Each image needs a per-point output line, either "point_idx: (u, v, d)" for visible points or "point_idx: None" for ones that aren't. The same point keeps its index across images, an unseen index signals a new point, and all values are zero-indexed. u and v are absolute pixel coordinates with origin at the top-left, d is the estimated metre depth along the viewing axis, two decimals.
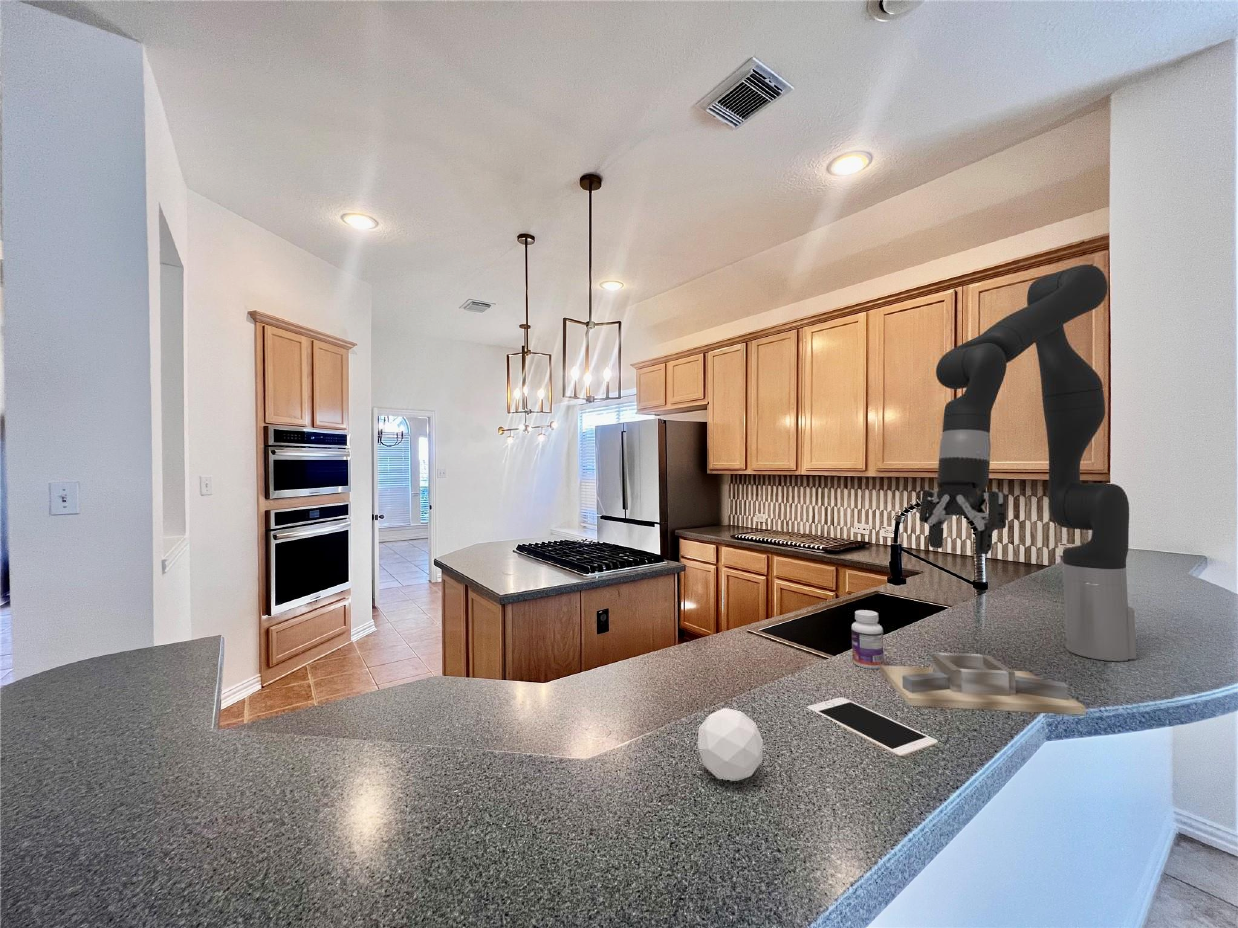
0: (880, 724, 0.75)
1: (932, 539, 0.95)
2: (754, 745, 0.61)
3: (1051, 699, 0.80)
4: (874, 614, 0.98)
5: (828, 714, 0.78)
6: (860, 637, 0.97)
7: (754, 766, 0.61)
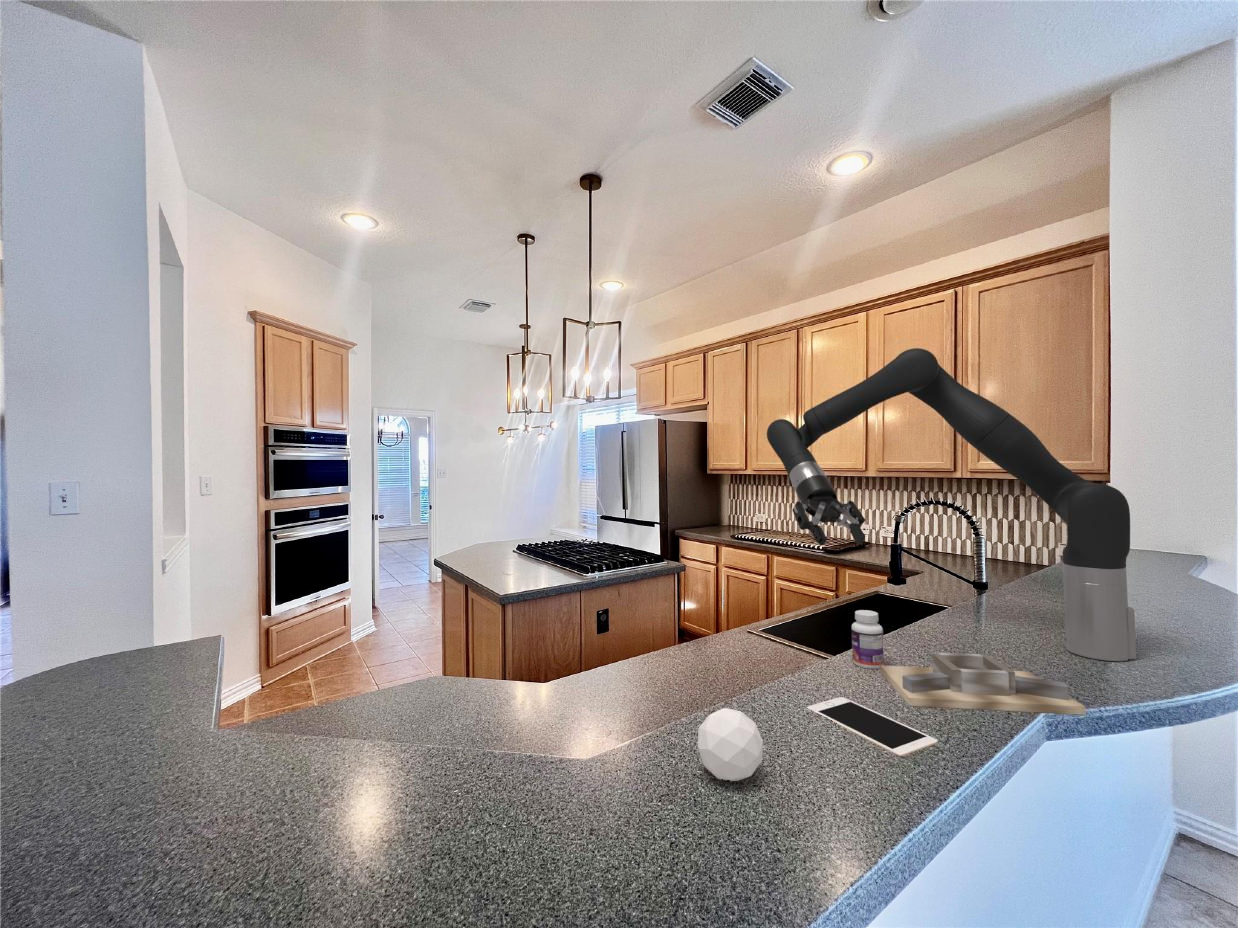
0: (880, 724, 0.75)
1: (855, 539, 1.10)
2: (754, 745, 0.61)
3: (1051, 699, 0.80)
4: (874, 614, 0.98)
5: (828, 714, 0.78)
6: (860, 637, 0.97)
7: (754, 766, 0.61)
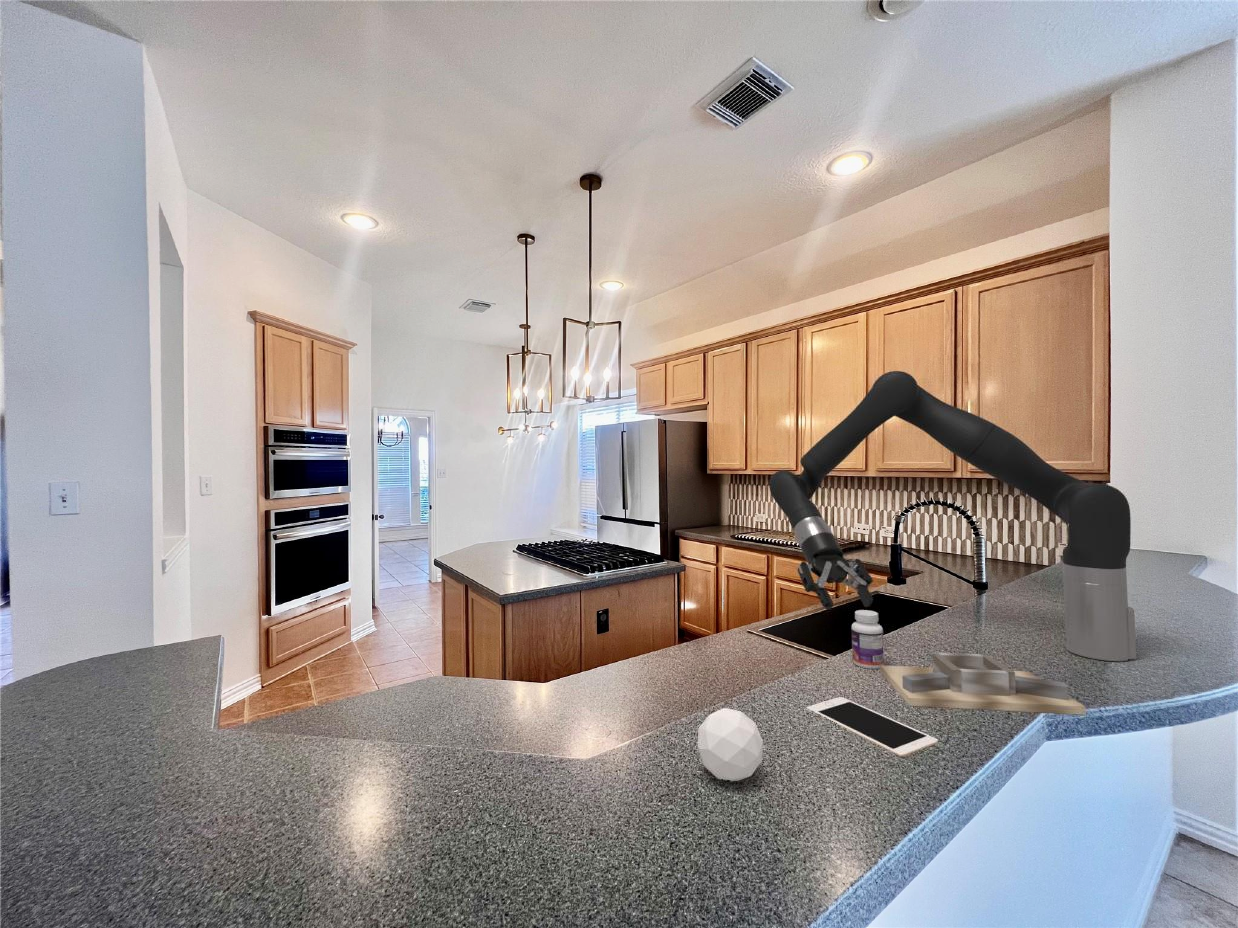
0: (880, 724, 0.75)
1: None
2: (754, 745, 0.61)
3: (1051, 699, 0.80)
4: (874, 614, 0.98)
5: (828, 714, 0.78)
6: (860, 637, 0.97)
7: (754, 766, 0.61)
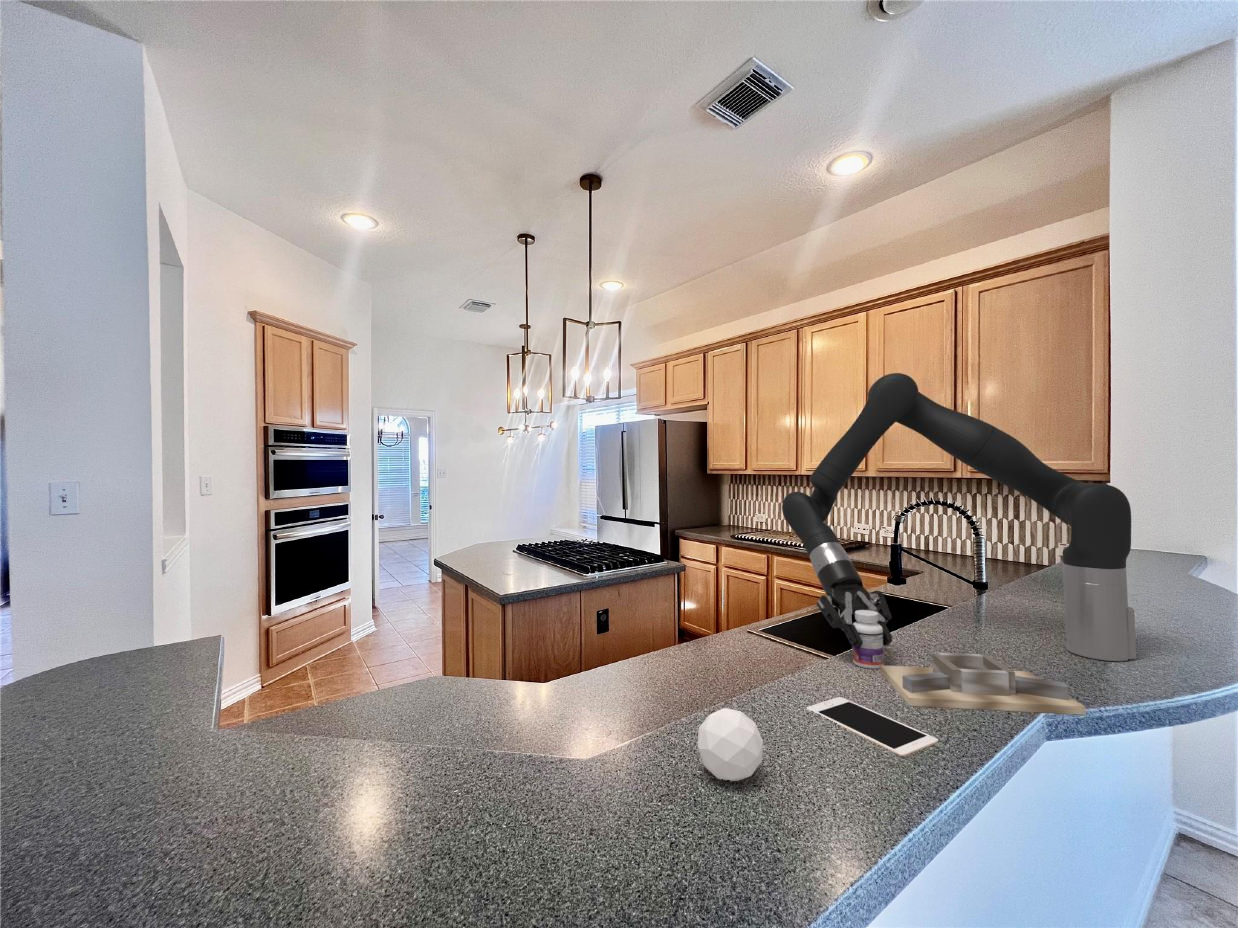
0: (880, 724, 0.75)
1: None
2: (754, 745, 0.61)
3: (1051, 699, 0.80)
4: (874, 614, 0.98)
5: (828, 715, 0.78)
6: (860, 636, 0.97)
7: (754, 766, 0.61)
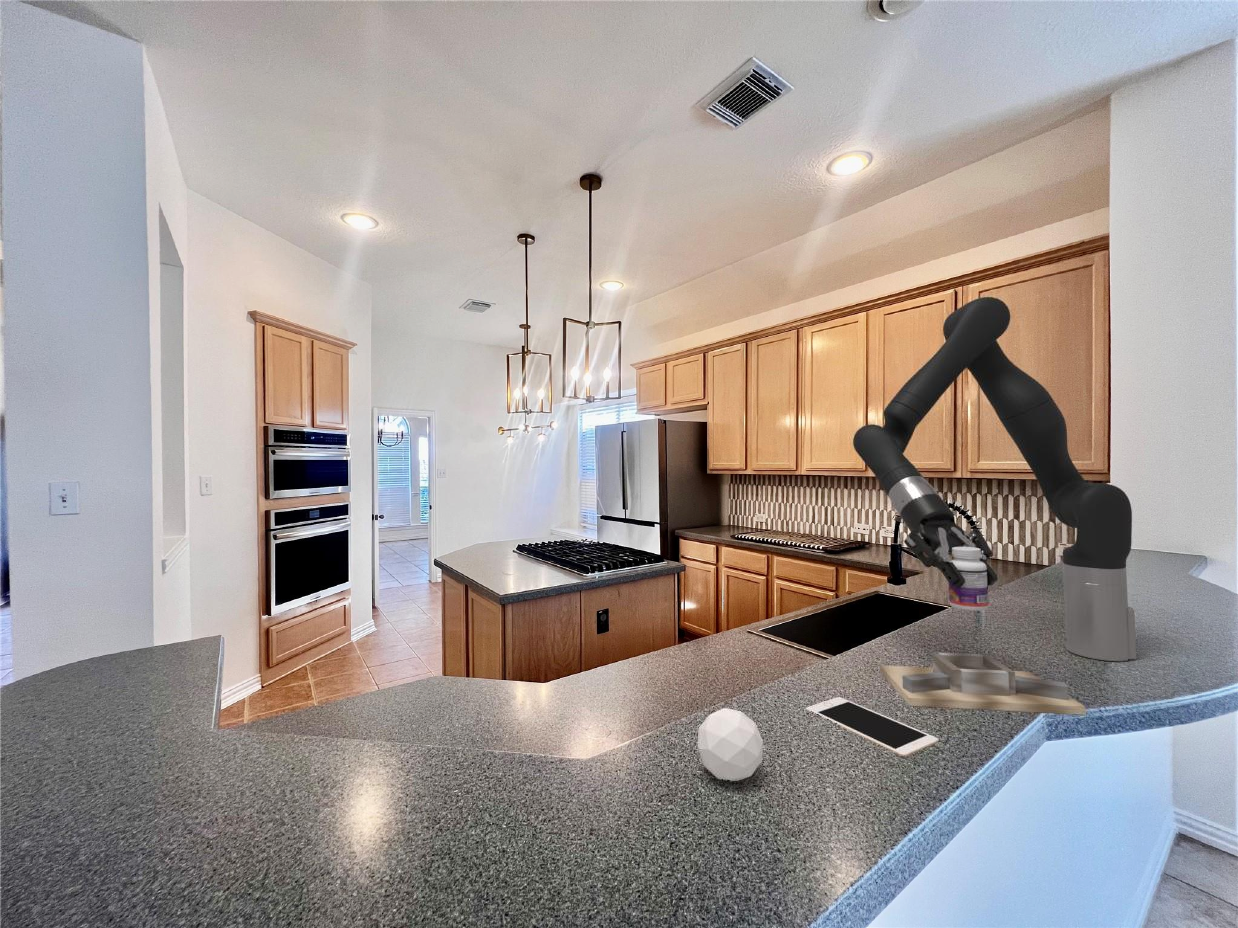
0: (880, 723, 0.75)
1: None
2: (754, 745, 0.61)
3: (1051, 699, 0.80)
4: (976, 549, 0.85)
5: (828, 715, 0.78)
6: None
7: (754, 766, 0.61)
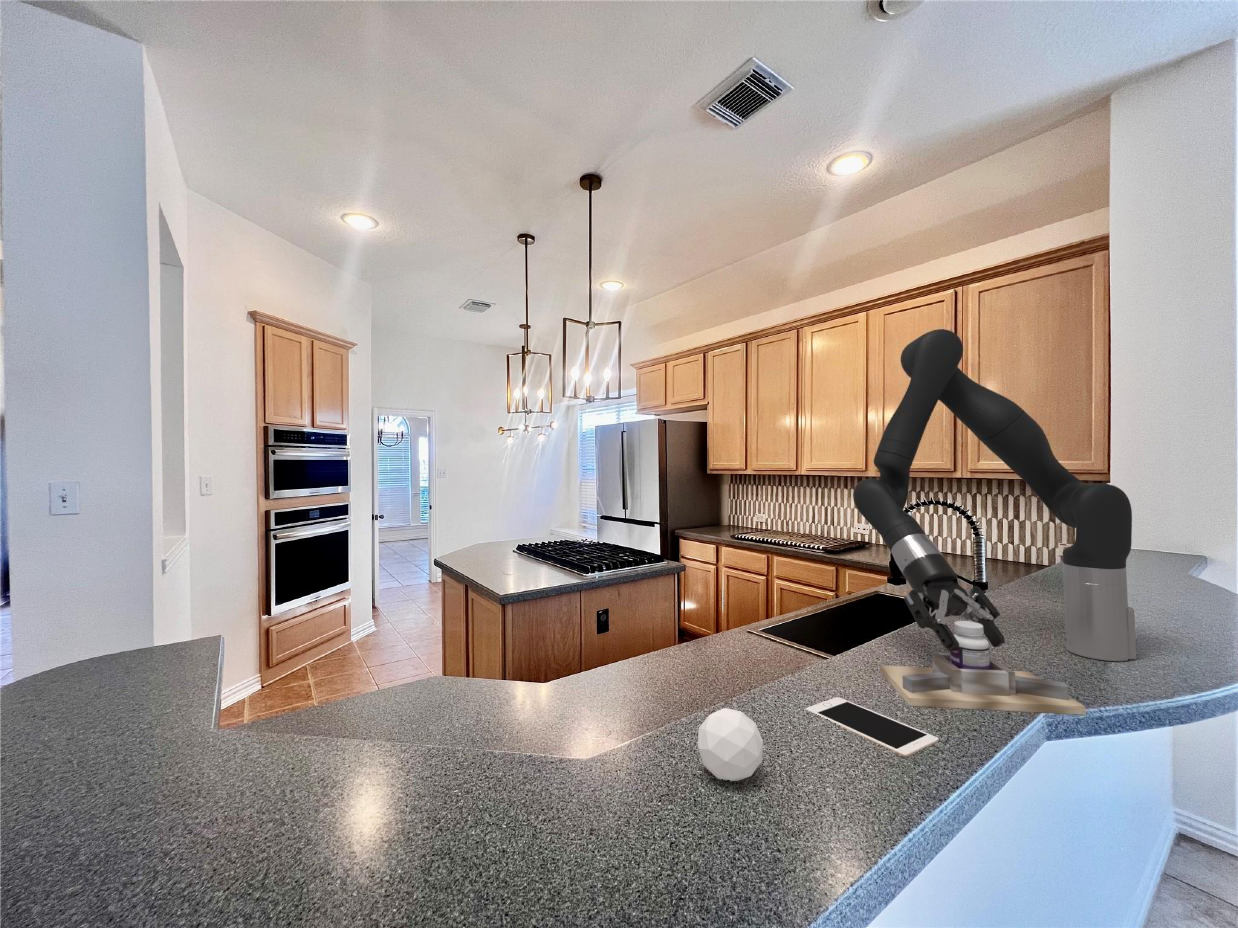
0: (880, 723, 0.75)
1: None
2: (754, 745, 0.61)
3: (1051, 699, 0.80)
4: (979, 626, 0.85)
5: (828, 715, 0.78)
6: (964, 652, 0.84)
7: (754, 766, 0.61)
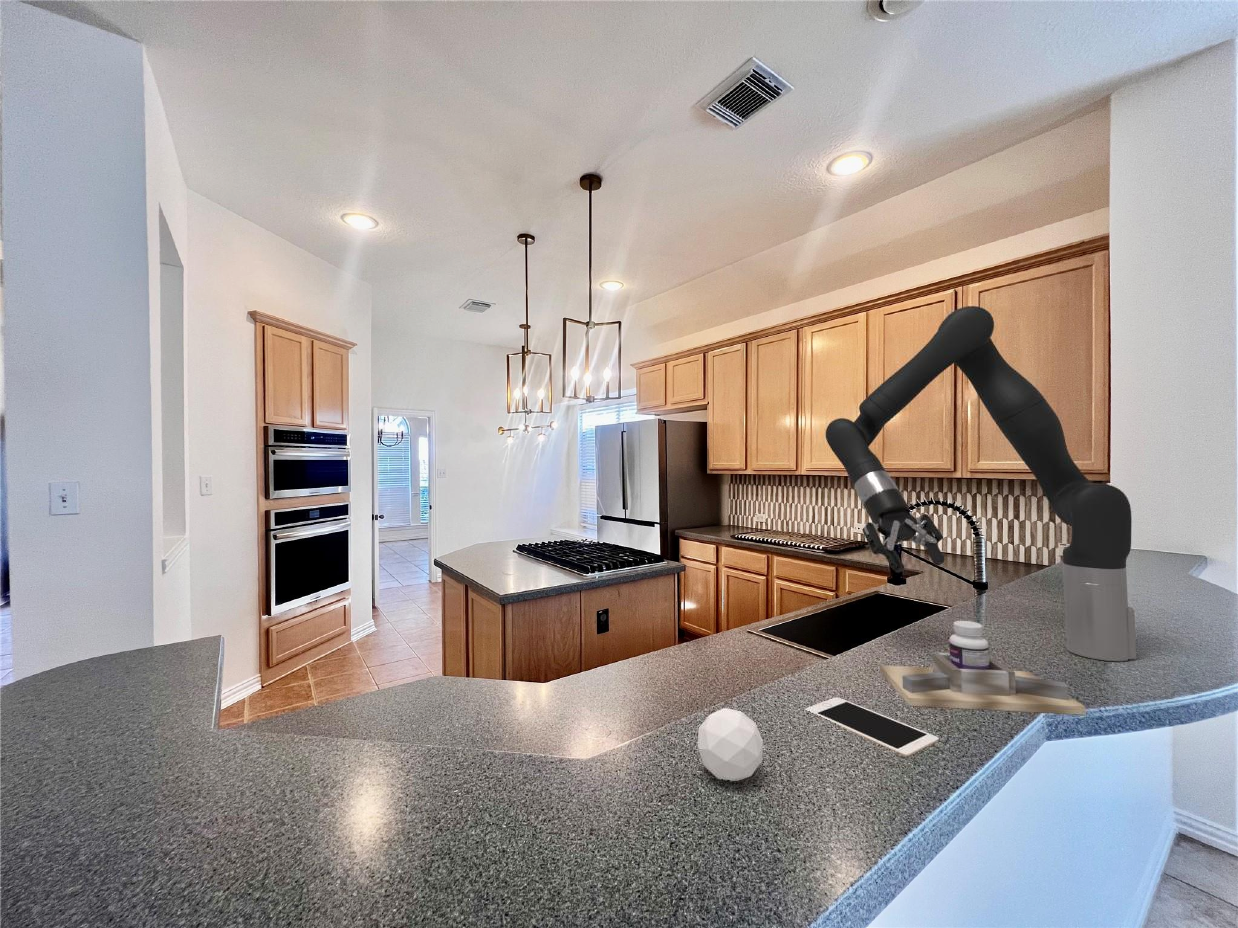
0: (880, 723, 0.75)
1: None
2: (754, 745, 0.61)
3: (1051, 699, 0.80)
4: (978, 626, 0.85)
5: (828, 715, 0.78)
6: (963, 652, 0.85)
7: (754, 766, 0.61)
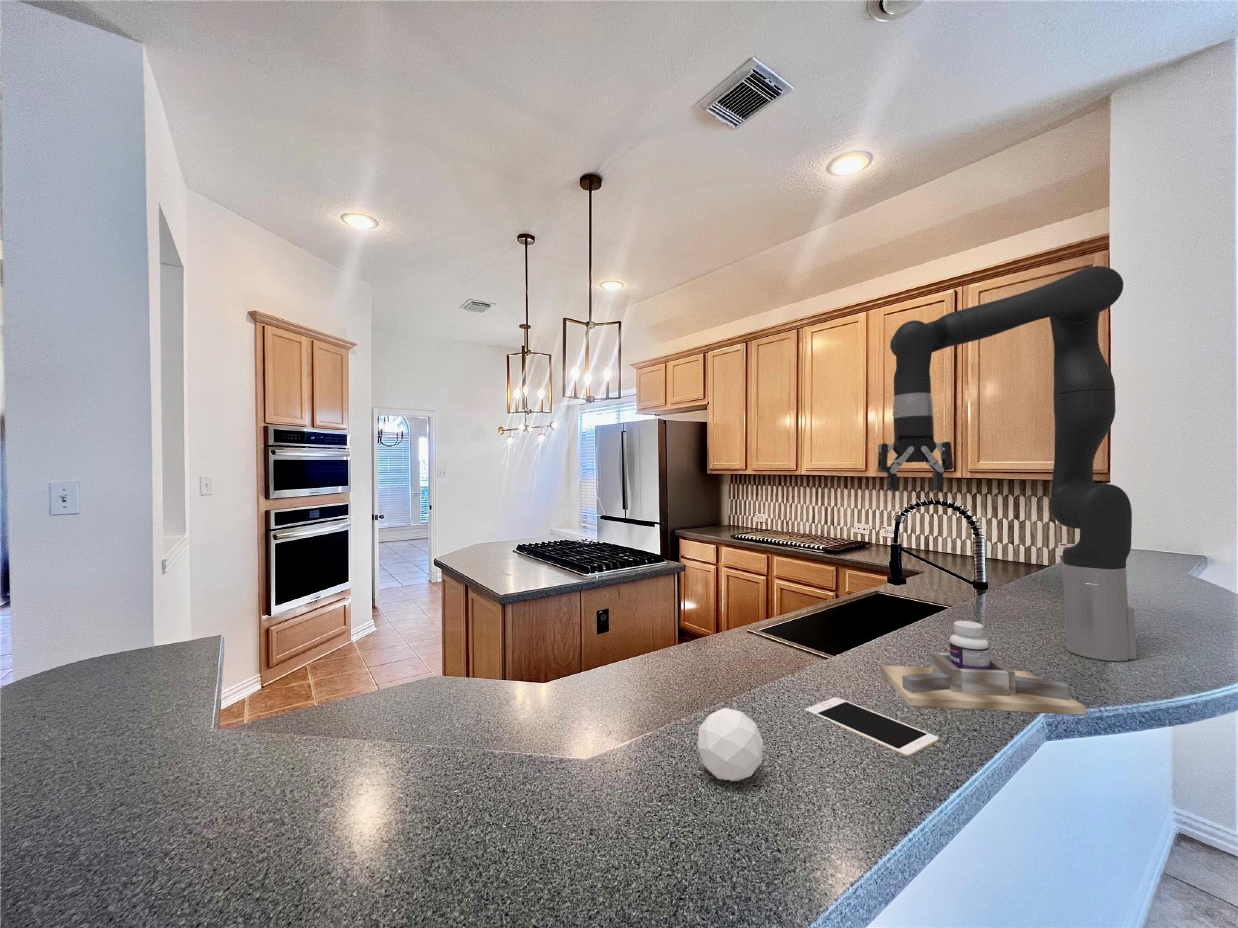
0: (880, 723, 0.75)
1: None
2: (754, 745, 0.61)
3: (1051, 699, 0.80)
4: (979, 626, 0.85)
5: (828, 716, 0.78)
6: (964, 652, 0.85)
7: (754, 766, 0.61)
